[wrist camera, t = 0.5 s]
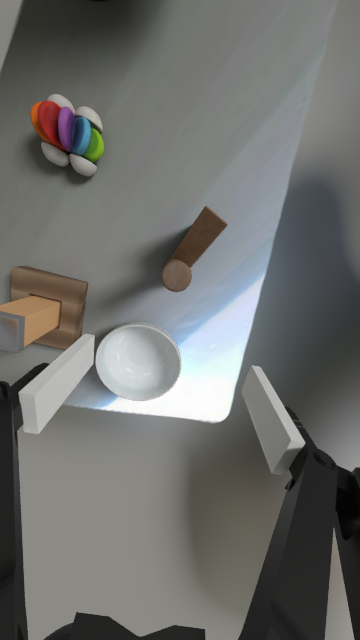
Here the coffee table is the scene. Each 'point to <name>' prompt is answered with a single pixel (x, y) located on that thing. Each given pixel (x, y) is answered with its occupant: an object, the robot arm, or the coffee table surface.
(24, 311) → the plug
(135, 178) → the coffee table surface
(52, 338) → the header block
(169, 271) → the wooden v-shaped piece
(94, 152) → the rainbow petal toy
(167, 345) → the cereal bowl
